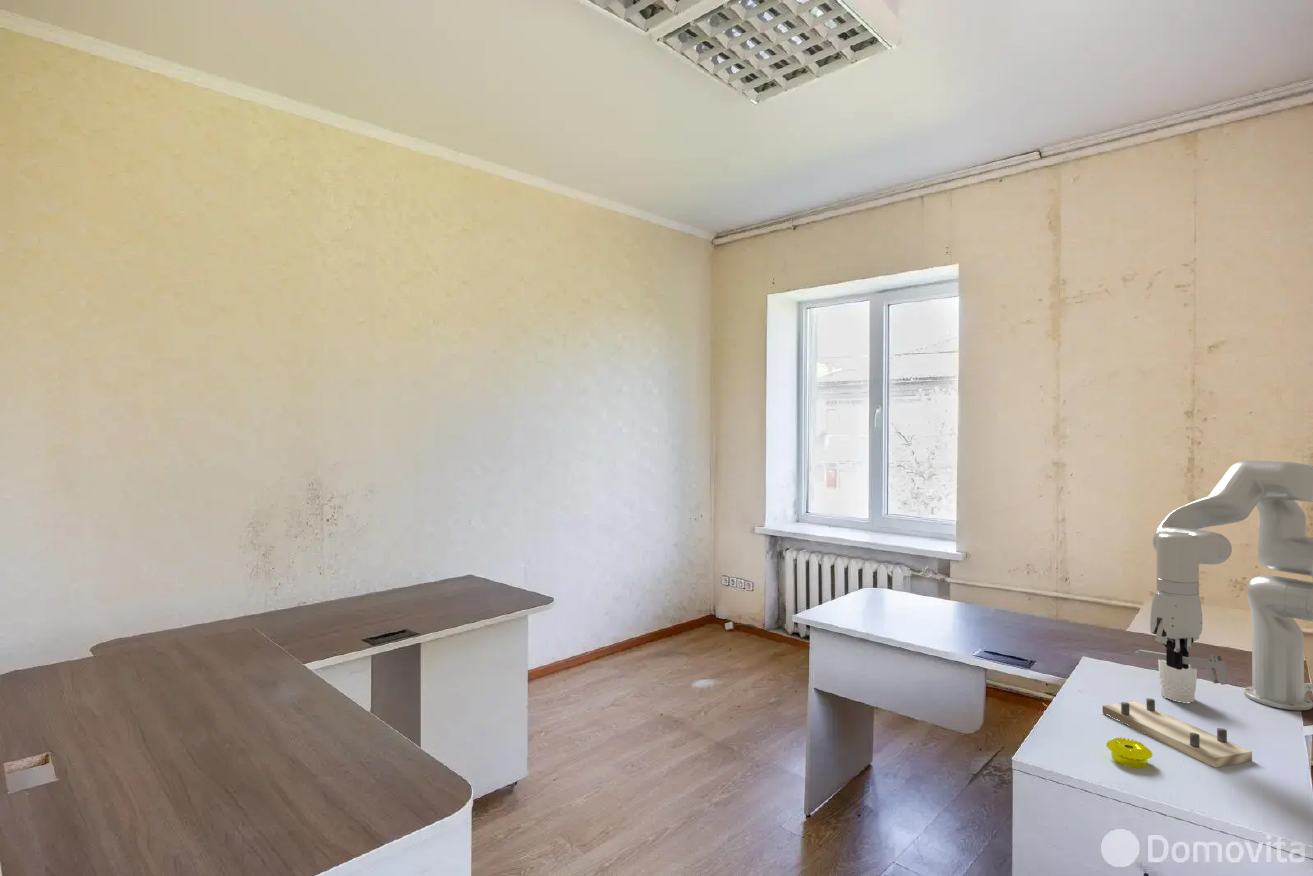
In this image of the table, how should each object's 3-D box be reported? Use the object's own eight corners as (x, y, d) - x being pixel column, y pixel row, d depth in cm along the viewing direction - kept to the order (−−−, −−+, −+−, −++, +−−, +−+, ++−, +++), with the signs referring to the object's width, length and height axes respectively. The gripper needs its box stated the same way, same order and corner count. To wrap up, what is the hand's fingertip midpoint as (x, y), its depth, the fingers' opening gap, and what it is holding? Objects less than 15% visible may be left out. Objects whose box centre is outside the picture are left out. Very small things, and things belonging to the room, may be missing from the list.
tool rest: (1135, 708, 162) (1135, 691, 162) (1252, 760, 136) (1251, 739, 136) (1102, 713, 159) (1102, 695, 159) (1215, 767, 134) (1215, 746, 134)
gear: (1133, 773, 133) (1162, 767, 135) (1133, 756, 133) (1162, 749, 135) (1097, 755, 140) (1125, 749, 143) (1097, 738, 140) (1124, 732, 143)
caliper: (1227, 686, 138) (1227, 657, 138) (1223, 687, 138) (1223, 657, 138) (1136, 653, 158) (1136, 628, 158) (1132, 654, 158) (1132, 628, 158)
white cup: (1191, 694, 169) (1191, 656, 169) (1202, 706, 162) (1201, 667, 162) (1154, 690, 173) (1154, 652, 172) (1163, 701, 165) (1162, 663, 165)
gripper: (1186, 581, 153) (1186, 658, 153) (1134, 585, 150) (1134, 664, 150) (1221, 588, 146) (1221, 670, 146) (1167, 593, 142) (1167, 676, 143)
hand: (1177, 666), depth 148 cm, fingers closed on caliper, 1 cm apart
